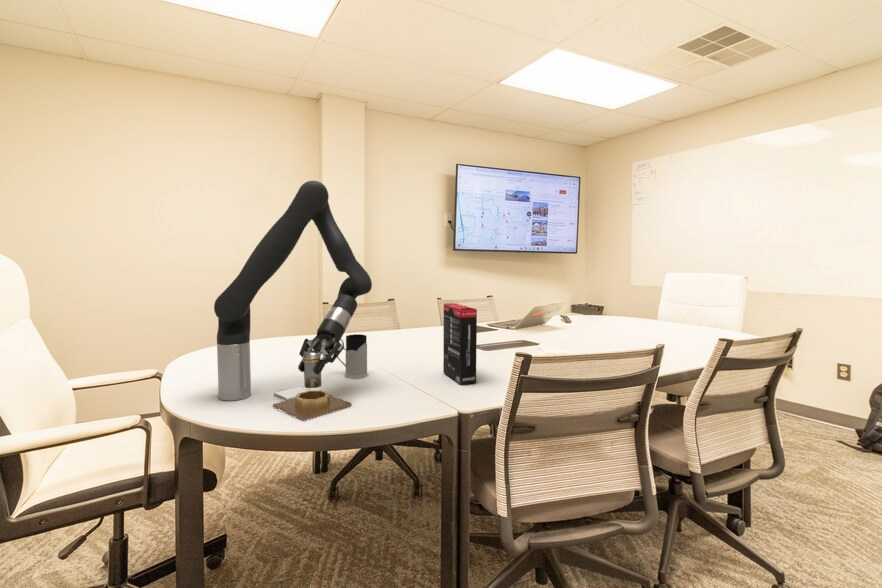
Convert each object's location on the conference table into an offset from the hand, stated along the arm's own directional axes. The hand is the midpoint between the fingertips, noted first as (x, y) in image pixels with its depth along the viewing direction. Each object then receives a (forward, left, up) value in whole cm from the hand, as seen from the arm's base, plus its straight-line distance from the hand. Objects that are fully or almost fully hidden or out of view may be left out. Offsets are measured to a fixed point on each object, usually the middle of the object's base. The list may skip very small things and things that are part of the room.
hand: (308, 371), depth 125 cm
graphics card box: (+13, +55, -11) cm, 57 cm away
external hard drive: (-14, +5, -12) cm, 19 cm away
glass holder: (-20, +31, -11) cm, 39 cm away
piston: (0, +2, -5) cm, 5 cm away
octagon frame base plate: (0, +2, -11) cm, 11 cm away
